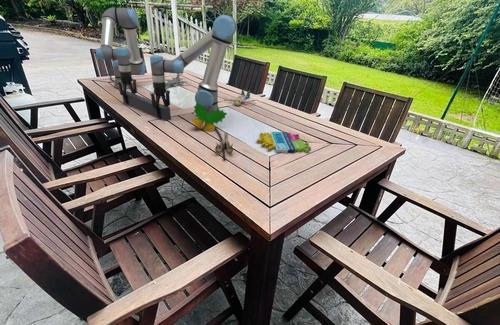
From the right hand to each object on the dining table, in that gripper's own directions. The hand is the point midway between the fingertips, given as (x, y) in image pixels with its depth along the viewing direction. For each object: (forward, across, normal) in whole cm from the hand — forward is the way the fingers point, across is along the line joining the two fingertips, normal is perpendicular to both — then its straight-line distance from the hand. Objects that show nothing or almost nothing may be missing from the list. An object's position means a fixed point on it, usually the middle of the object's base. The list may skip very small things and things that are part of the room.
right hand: (162, 117), depth 176 cm
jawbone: (+1, +7, +63) cm, 64 cm away
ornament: (+1, -10, +35) cm, 36 cm away
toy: (+1, -71, +10) cm, 72 cm away
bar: (+1, 0, -20) cm, 20 cm away
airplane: (+1, -61, -68) cm, 91 cm away
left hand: (0, 0, -40) cm, 40 cm away
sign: (+1, -25, +79) cm, 83 cm away
